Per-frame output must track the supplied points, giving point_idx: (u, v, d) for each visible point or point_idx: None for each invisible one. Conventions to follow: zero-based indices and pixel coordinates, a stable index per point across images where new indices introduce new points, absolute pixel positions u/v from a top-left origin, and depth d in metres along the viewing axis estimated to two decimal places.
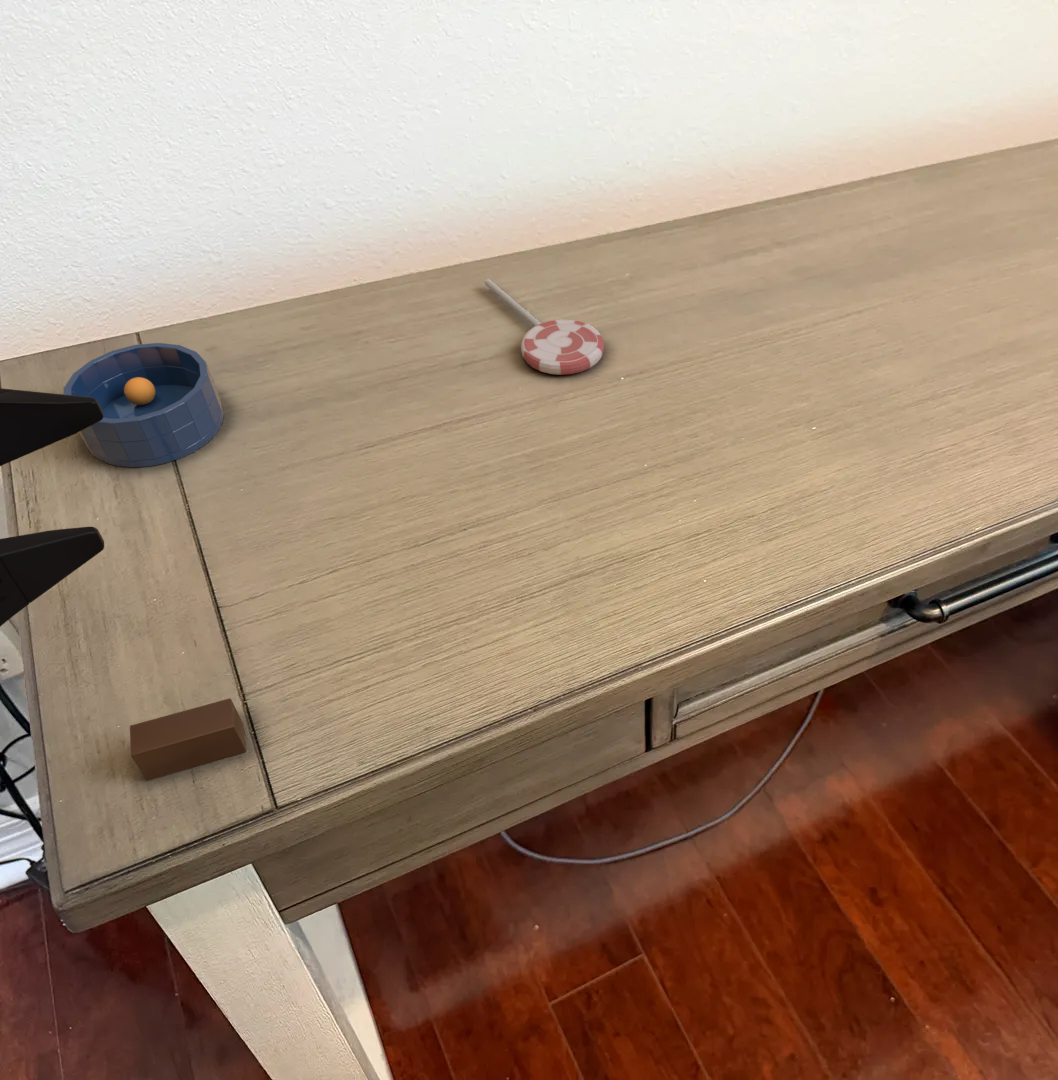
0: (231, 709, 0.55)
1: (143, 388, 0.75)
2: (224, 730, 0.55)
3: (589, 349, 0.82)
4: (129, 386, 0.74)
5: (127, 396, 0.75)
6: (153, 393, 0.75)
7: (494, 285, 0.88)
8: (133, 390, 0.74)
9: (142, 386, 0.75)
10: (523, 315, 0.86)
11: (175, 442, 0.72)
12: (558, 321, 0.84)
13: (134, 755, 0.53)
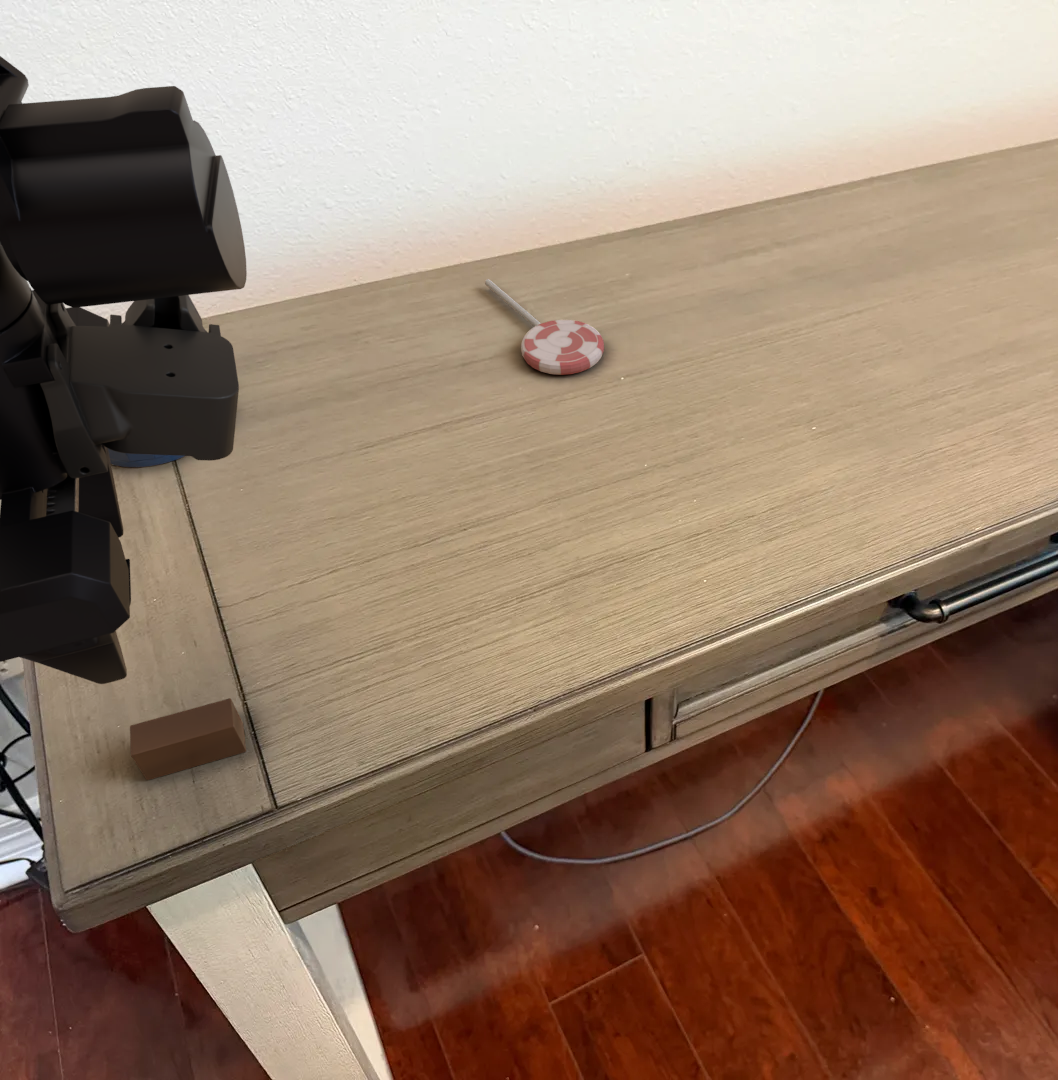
0: (231, 709, 0.55)
1: None
2: (224, 730, 0.55)
3: (589, 349, 0.82)
4: None
5: None
6: None
7: (494, 285, 0.88)
8: None
9: None
10: (523, 315, 0.86)
11: None
12: (558, 321, 0.84)
13: (134, 755, 0.53)
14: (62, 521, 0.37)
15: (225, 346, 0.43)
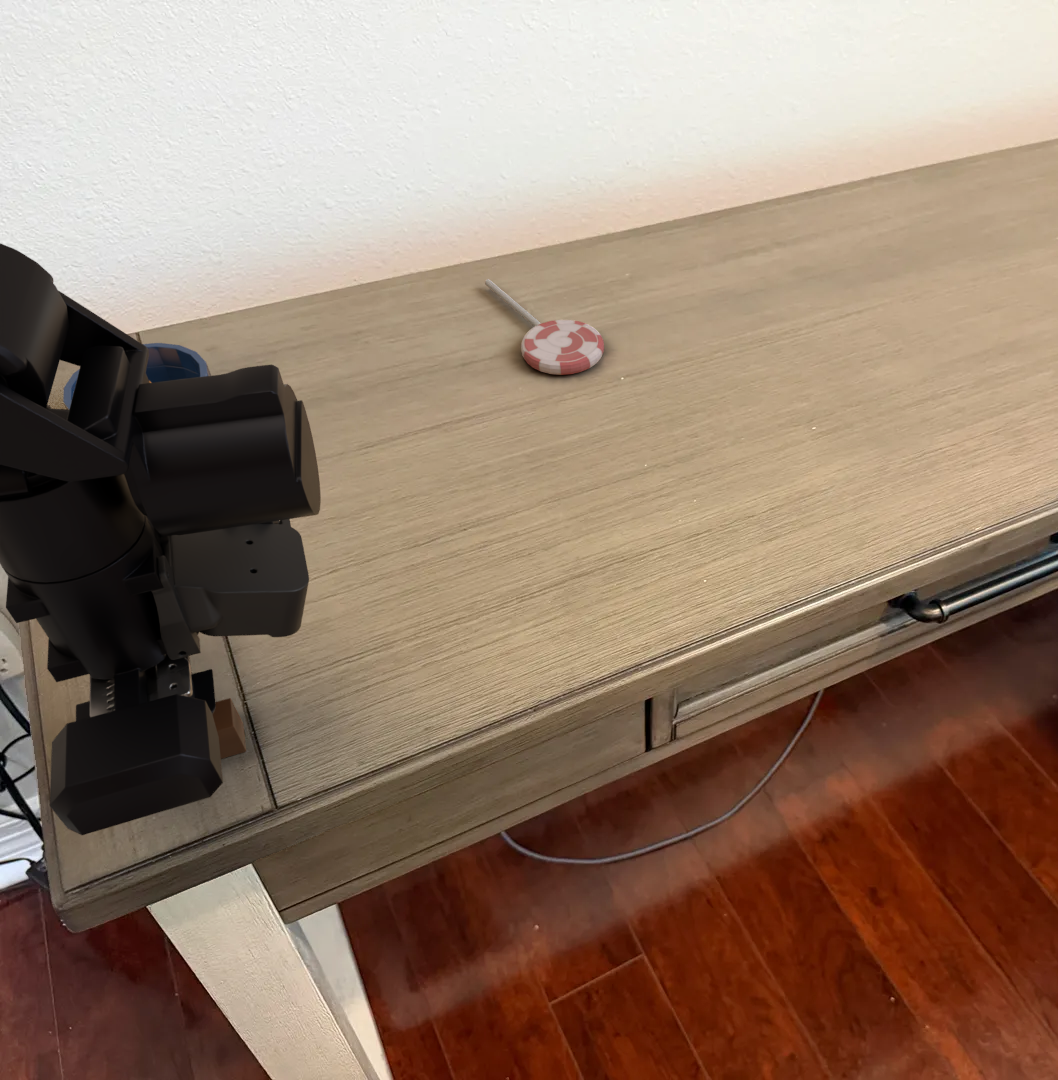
0: (231, 709, 0.55)
1: None
2: (224, 730, 0.55)
3: (589, 349, 0.82)
4: None
5: None
6: None
7: (494, 285, 0.88)
8: None
9: None
10: (523, 315, 0.86)
11: None
12: (558, 321, 0.84)
13: None
14: (168, 704, 0.45)
15: (295, 537, 0.51)
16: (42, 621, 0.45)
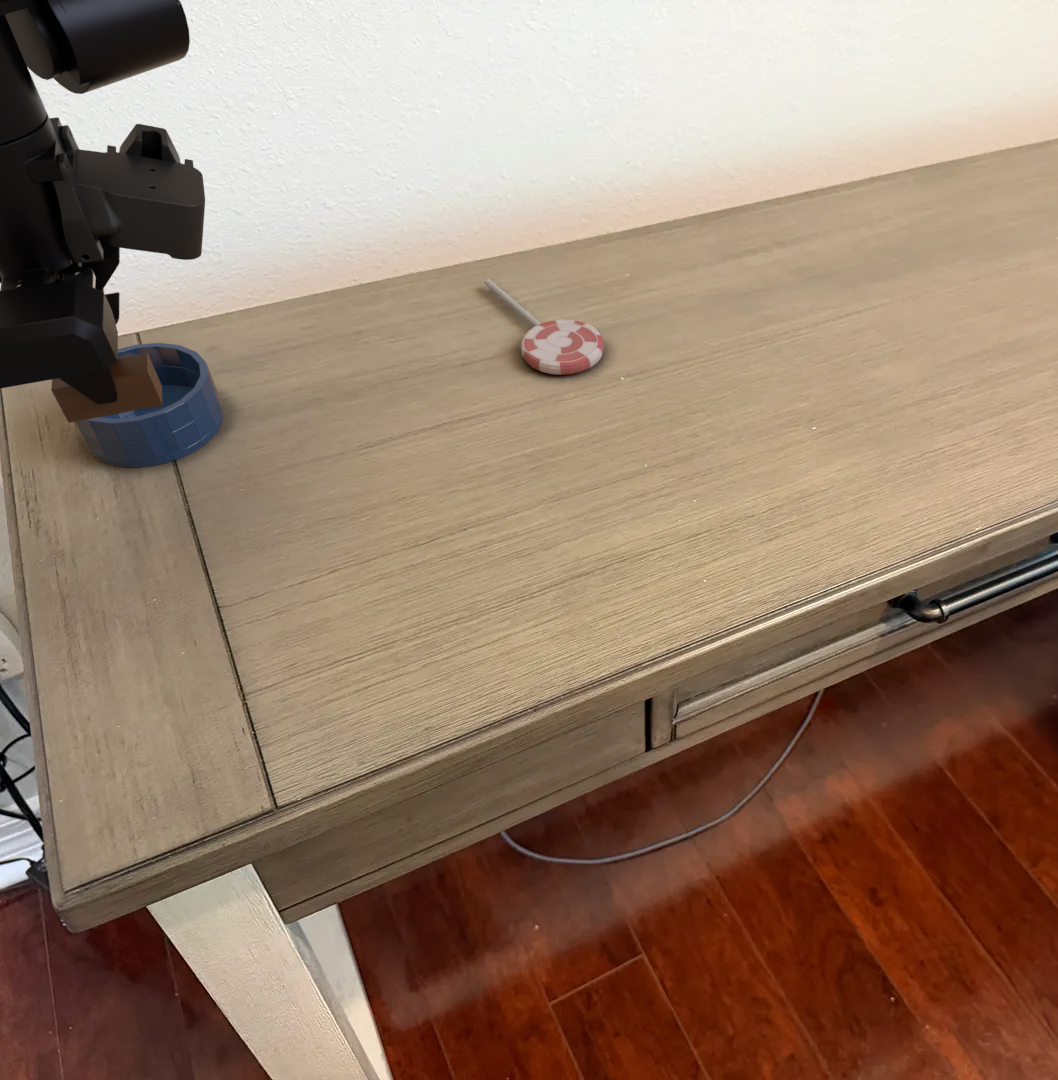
0: (147, 361, 0.60)
1: None
2: (139, 375, 0.59)
3: (589, 349, 0.82)
4: None
5: None
6: None
7: (494, 285, 0.88)
8: None
9: None
10: (523, 315, 0.86)
11: (175, 442, 0.72)
12: (558, 321, 0.84)
13: (54, 390, 0.58)
14: (67, 285, 0.50)
15: (196, 174, 0.55)
16: None
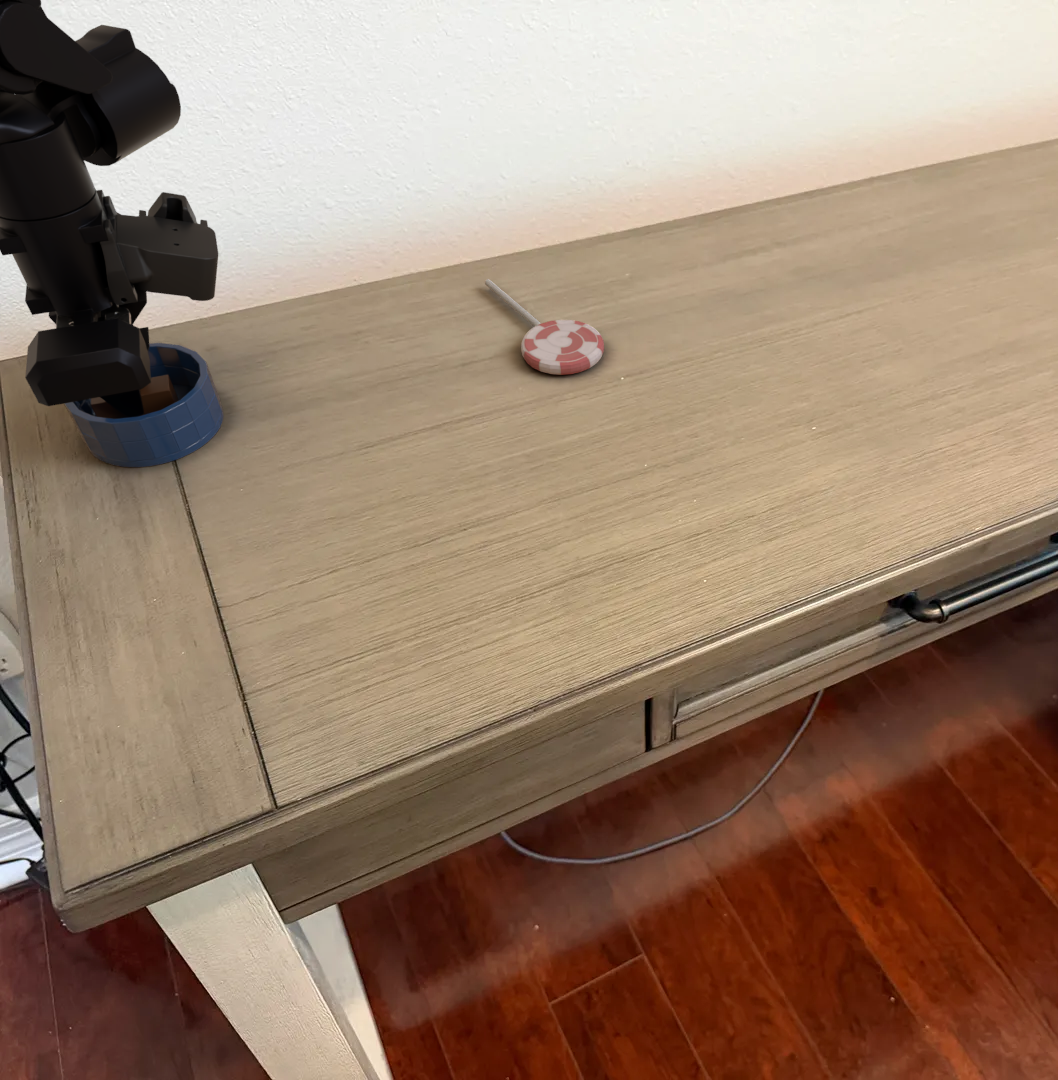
0: (168, 380, 0.73)
1: None
2: (162, 392, 0.73)
3: (589, 350, 0.82)
4: None
5: None
6: None
7: (494, 285, 0.88)
8: None
9: None
10: (523, 315, 0.86)
11: (175, 442, 0.72)
12: (558, 321, 0.85)
13: (93, 405, 0.71)
14: (111, 323, 0.63)
15: (210, 232, 0.69)
16: (21, 261, 0.63)
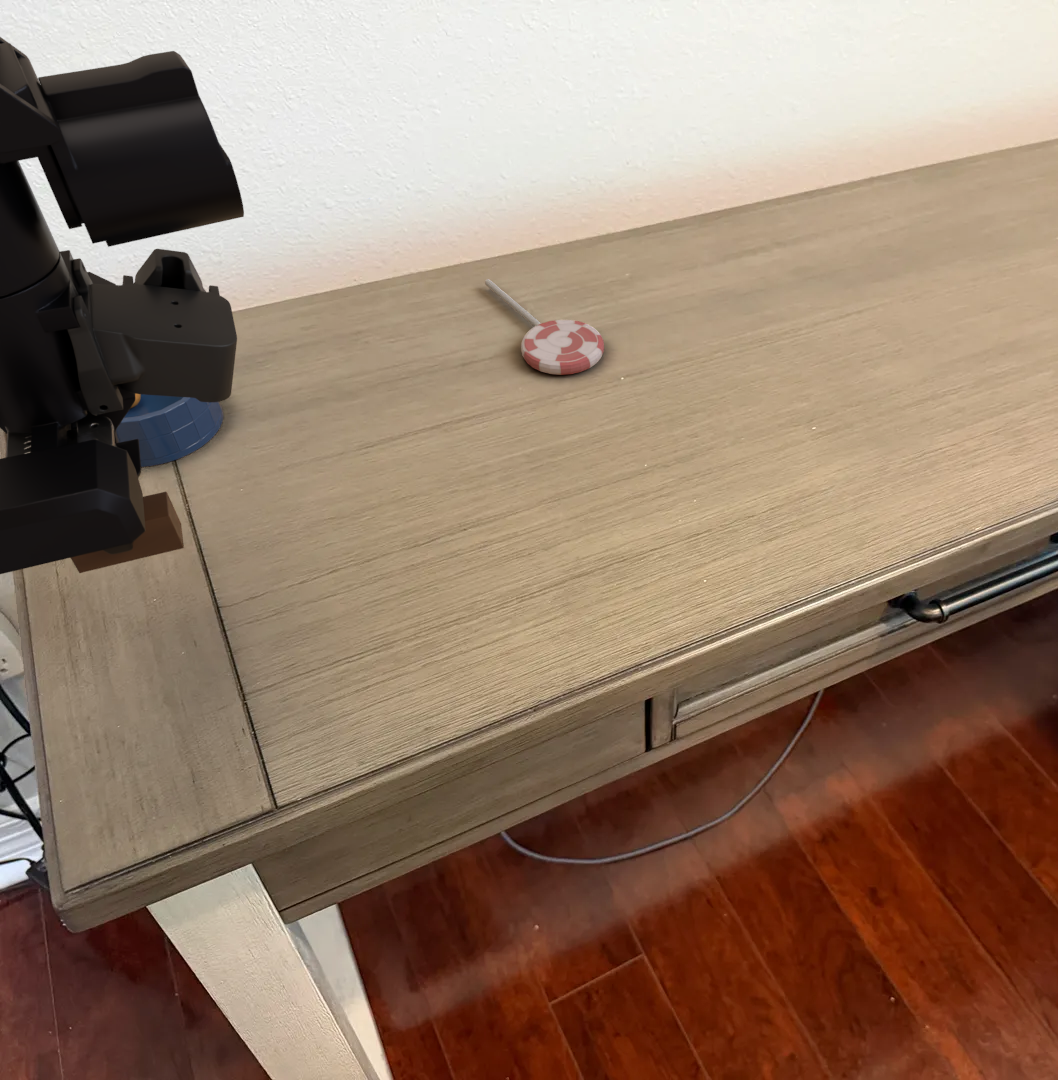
0: (167, 501, 0.54)
1: None
2: (159, 519, 0.53)
3: (589, 349, 0.82)
4: None
5: None
6: None
7: (494, 285, 0.88)
8: None
9: None
10: (523, 315, 0.86)
11: (175, 442, 0.72)
12: (558, 321, 0.84)
13: None
14: (87, 447, 0.43)
15: (224, 304, 0.49)
16: None
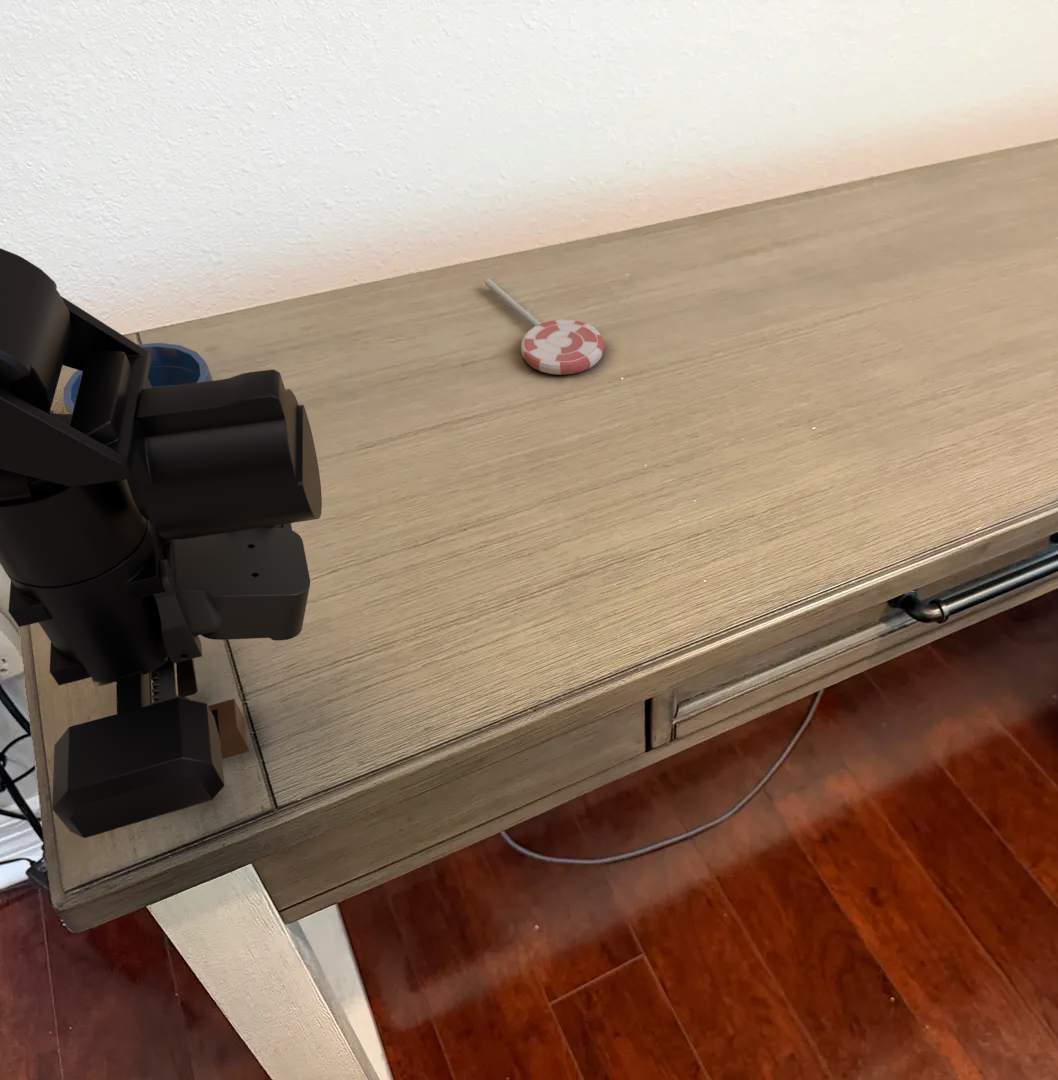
0: (235, 709, 0.56)
1: None
2: (228, 730, 0.55)
3: (589, 350, 0.82)
4: None
5: None
6: None
7: (494, 285, 0.88)
8: None
9: None
10: (523, 315, 0.86)
11: None
12: (558, 321, 0.84)
13: None
14: (170, 707, 0.45)
15: (296, 540, 0.51)
16: (44, 625, 0.45)
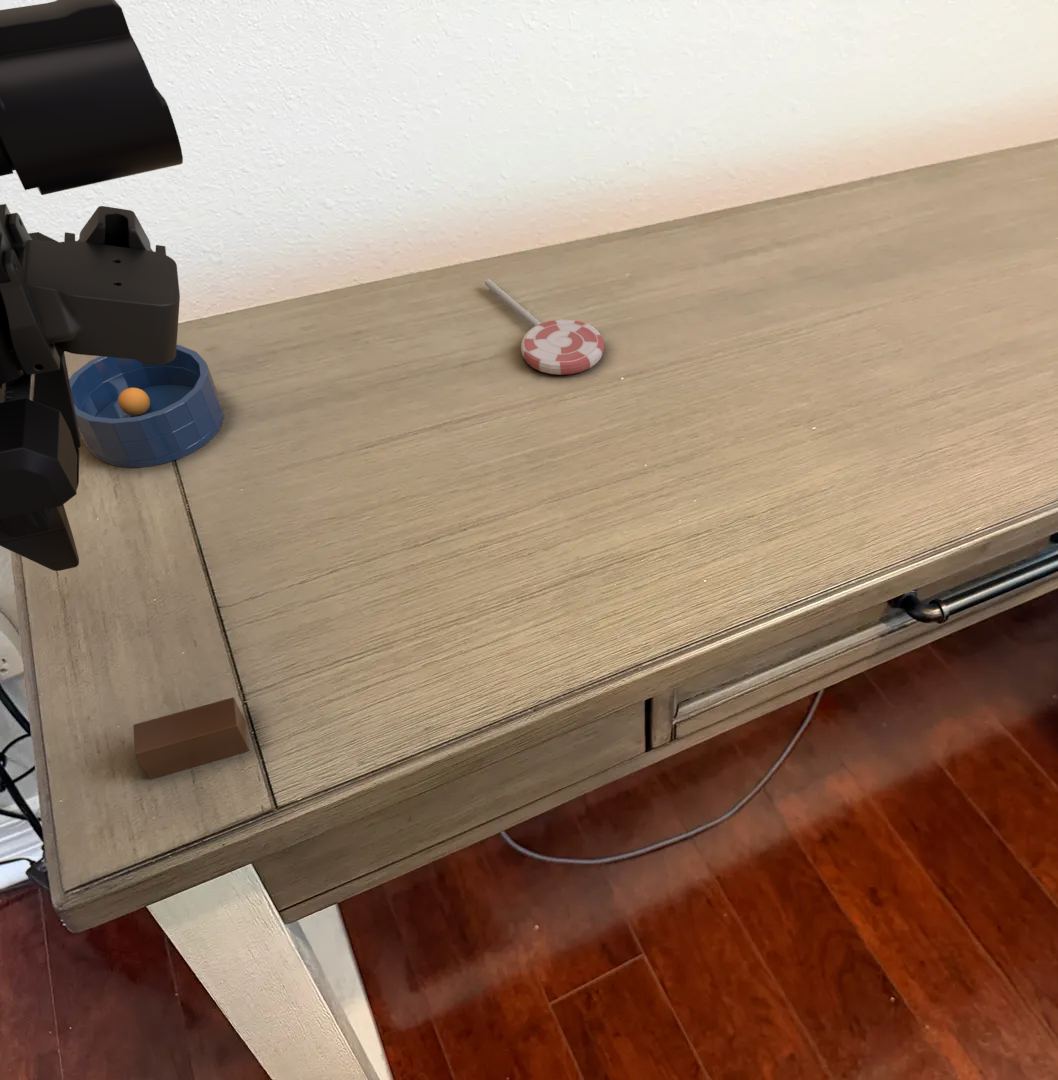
0: (234, 708, 0.56)
1: (130, 411, 0.74)
2: (227, 729, 0.55)
3: (589, 349, 0.82)
4: (119, 403, 0.74)
5: None
6: (143, 412, 0.75)
7: (494, 285, 0.88)
8: (121, 408, 0.74)
9: (129, 410, 0.74)
10: (523, 315, 0.86)
11: (175, 442, 0.72)
12: (558, 321, 0.84)
13: (137, 754, 0.53)
14: (16, 406, 0.42)
15: (169, 263, 0.48)
16: None
